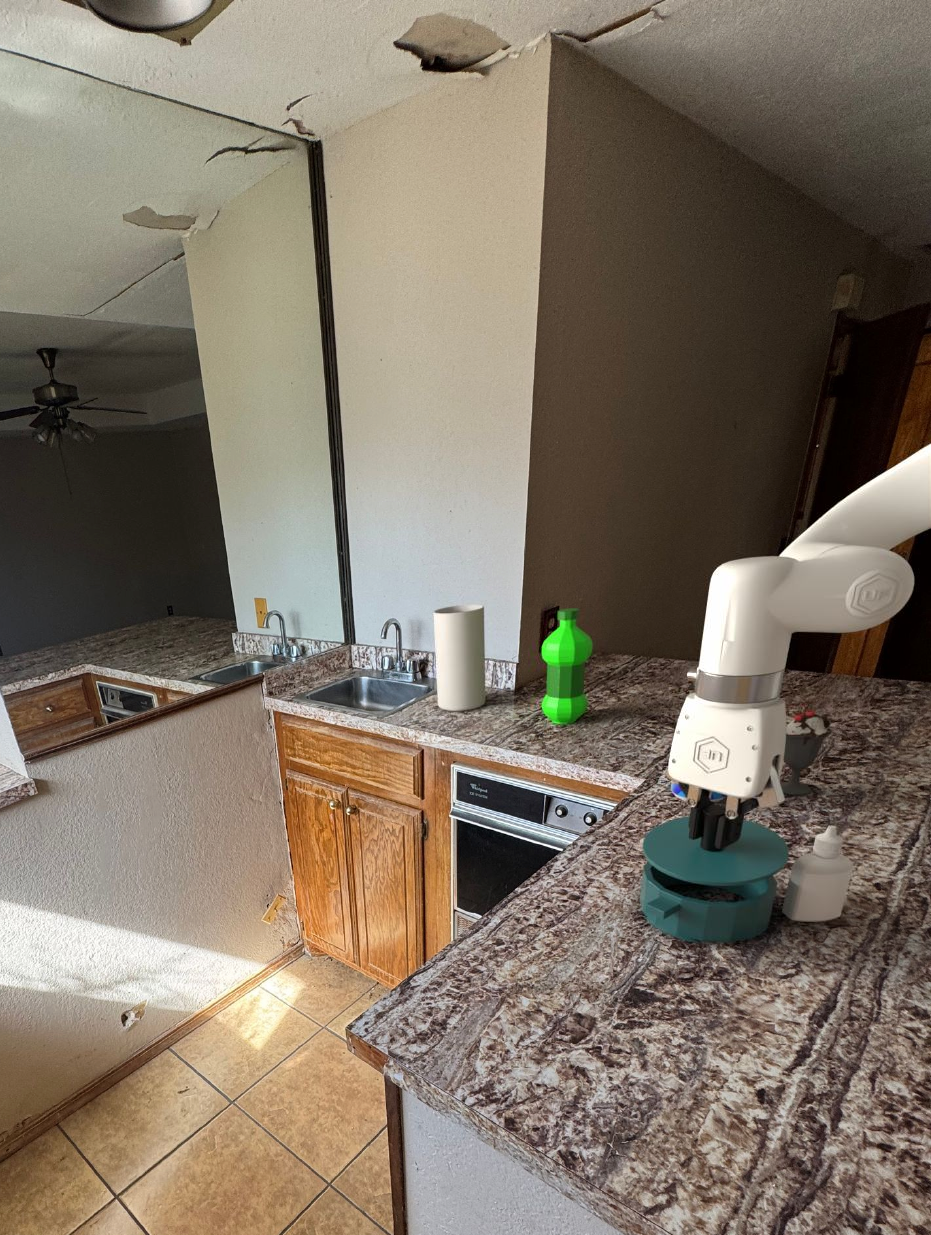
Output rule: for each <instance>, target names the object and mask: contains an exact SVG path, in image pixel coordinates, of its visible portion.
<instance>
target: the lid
mask: <svg viewBox="0 0 931 1235" xmlns="http://www.w3.org/2000/svg"><path fill="white" fill-rule="evenodd" d="M725 812H726V806H724V805H721V804H714V805H708V806H706V807H704V808H703V817H702V831H701V837H700V838H698V839H695V840H692V839H690V838H689V831H690V828H689V827H688V824H689V818H690V816H684V817H678V818H675V819H671V820H668V821H664V822H662V823H660V824H658V825H656V826H655V827H653V828H652V829H651V830H649V832H648V833H647V834H646V835H645V836H644V837H643V841H642V853H643V856H644V857H645V859H646V861H649V863H650V864H651V865H653V866H654V867H655V868H656V869H658V870H660V871H661V872H663V873H665V874H667V875H669V876H672V877H674V878H677V879H680V880H684V881H687V882H692V883H697V884H696V885H700V884H703V885H702V886H707V885H714V886H734V885H744V884H749V883H754V882H758V881H762V880H764V879H767V878H769V877H771V876H775V875H777V874H778V873H779V872H782V870H783V869H784V868H785V867H786V865H787V863H788V860H789V856H790V850H789V846H788V844H787V843H786V841H785V840H784V839H783V838H782V837H781V836H780V835H779V834H778V833H776V832H775V831H774V830H772V829H770V828H768V827H766V826H764V825H762V824H759V823H757V822H753V821H750V820H747V819H744V820H743V825H742V831H741V836H740V838H739V840H738V841H736V842H735V843H733V844H731V845H729V846H727V847H725V848H723V849H719V848H716V846H715V840H716V834H717V828H718V822H719V818H720V817H721V816H723V815H725Z"/></svg>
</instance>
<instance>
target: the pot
mask: <svg viewBox="0 0 931 1235" xmlns="http://www.w3.org/2000/svg"><path fill="white" fill-rule="evenodd" d="M778 884H779V883H778V881H777V880H776V878H775V875H773V876H771V877H769V878H767V879H764V880H762V881H758V882H754V883H749V884H744V885H734V886H714V885H706V886H707V887H713V888H718V889H722V890H725V891H727V892H729V893H733V894H735V895H738V896H740V897H742V898H744V899H745V900H739V901H733V902H732V901H731V902H729V901H728V902H727V901H708V900H702V899H698V898H693V897H688V896H684V895H682V894H679V893H677V892H675V891H672V890H670V889H668V888H666V887H672V886H678V885H698V884H697V883H692V882H687V881H684V880H680V879H677V878H674V877H672V876H669V875H667V874H665V873H663V872H661V871H660V870H658V869H656V868H655V867H654V866H653V865H651V864H650V863H649V861H648V860H646V863H645V864H644V866H643V868H642V877H641V884H640V885H641V886H640V895H639V904H640V908H641V911H642V913H643V915H645V916H644V919H645V920H646V921H647V922H648V923H649V924H650V925H651V926H653V927H654V928H656V929H657V930H659V931H661V932H662V933H665V934H666V935H669V936H671V937H674V938H677V939H679V940H682V941H685V942H689V943H693V944H699V945H702V942H710V943H711V942H712V943H713V942H715V943H735V942H736V943H737V942H741V941H746V940H752V939H754V938H755V937H758V936H759V935H761V934H762V933H764V932H766V931H767V930H768V927H769V923H770V920H771V916H772V911H773V906H774V903H775V898H776V892H777V888H778ZM701 885H702V886H704V885H703V884H699V886H701ZM699 941H700V942H699Z"/></svg>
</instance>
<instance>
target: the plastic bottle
mask: <svg viewBox="0 0 931 1235" xmlns="http://www.w3.org/2000/svg"><path fill="white" fill-rule="evenodd" d="M579 616H580V609H579V608H578V607H576V608H573V607H571V608H570V607H569V608H563V609H559V610H557V620H558V621H559V627H558V628H556V629H555V630H554V631H553V632H552V633H551V634H550V635H549V636H548V637H547V638H546V639H545V640H543V643H542V646H541V656H542V660H544V662H546V664H547V668H546V694H545V696H544V697H543V700H542V702H541V709H542V712H543V714H544V715H545V716H546V717H547V718H548V719H549V720H551V722H552V723H553V724H558V725H568V724H573V723H575V722H576V721H577V720H578V719H579V718H581V717H582V716H583V714H585V712H586V711H587V709H588V704H589V702H588V699H587V696H586V694H585V675H586V674H585V672H586V661H587V660H588V659H590V657H591V656H592V652H593V647H594V646H593V644H594V643H593V640H592V638H591V637H590V636H589V635H588V634H587V633H586V632H585V631H583V630H582V629H581V628H579V627H578V626H577V623H576V622H577V619H579Z"/></svg>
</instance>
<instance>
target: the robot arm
mask: <svg viewBox="0 0 931 1235" xmlns="http://www.w3.org/2000/svg"><path fill="white" fill-rule="evenodd" d="M929 529H931V443H929V444H927V445H926V446H924V447H923V448H921V449H919V450H917V451H915V453H913V454H912V455H910V456H908V457H907V458H906V459H903V460H902V461H900V462H899V463H897V464H896V465H894V466H893V467H891V468H889V469H887V470H886V471H884V472H883V473H881V474H879V475H877V476H876V477H874V478H873V479H871V480H870V481H868V482H866V483H865V484H863V485H862V486H860V487H859V488H857V489H856V490H855V491H853V492H851V493H850V494H849V495H847V496H846V497H845V498H843V499H842V500H840V501H839V502H837V503H836V504H835V505H834V506H833V507H831V508H830V509H829V510H828V511H827V512H825V513H823V515H822V516H821V517H819V518H818V519H817V520H816V521H815V522H814V523H812V525H810V526H809V527H808V528H807V529H805V531H804V532H802V533H801V534H800V535H799V536H798V537H797V538H795V539H794V541H791V543H790V544H789V545H788V546H787V547H786V548H785V549H784V550H783V551H782V552H781V553H780V554H779V555H778V556H776V555H770V556H769V555H768V556H754V557H746V558H740V559H734V560H729V561H727V562H724V563H722V564H721V565H719V566H717V568H716V569H715V570H714V571H713V573H712V575H711V578H710V582H709V589H708V596H707V604H706V610H705V618H704V625H703V631H702V632H703V633H702V639H701V647H700V656H699V663H698V666H697V667H696V668H690V669H689V670H688V672H687V674H686V679H687V680H688V681H691V682H693V683H694V692H692V693H689V694H688V695H687V696H686V697H685V700H684V703H683V705H682V708H681V710H680V713H679V717H678V719H677V723H676V726H675V729H674V734H673V739H672V742H671V748H670V753H669V759H668V767H667V768H668V769H667V770H666V771H665V777H666V778H668V779H669V780H670V781H671V782H672V781H673V782H674V783H675V784H676V785H679V787H680V789H681V791H682V792H683V793H684V795H685V796H686V798H687V801H686V805H687V806H688V807H689V808H690V811H689V817H690V818H689V824H688V827H689V828H690V831H689V838H690V839H692V840H695V839H698V838H700V837H701V831H702V817H703V808H704V807H706V806H708V805H715V802H712V801H710V799H711V796H712V791H713V792H717V793H721V794H724V795H727V796H726V804H725V807H726V812H725V815H723V816H721V817H720V818H719V822H718V828H717V834H716V840H715V846H716V848H719V849H723V848H725V847H727V846H729V845H731V844H733V843H735V842H736V841H738V840H739V838H740V836H741V831H742V825H743V820H745V814H747V813H749V812H751V811H753V810H756V809H764V808H773V807H777V806H779V805H781V804H783V803H785V799H786V798H785V795H784V793H783V791H782V788H781V785H780V783H781V781H780V779H781V775H782V770H783V765H784V752H785V743H786V726H787V709H786V708H787V707H786V700H785V699H784V698H780V695H781V690H782V686H783V679H784V674H785V669H786V664H787V658H788V653H789V649H790V643H791V639H792V634H794V633H798V632H799V633H833V634H834V633H835V634H836V633H837V634H844V633H845V634H846V633H855V632H860V631H861V632H862V631H864V630H865V631H866V630H869V629H871V628H874V627H877V626H879V625H882V624H883V623H885V622H886V621H888V620H890V619H892V618H893V617H894V616H895V615H897V613H899V612H900V611H901V610H902V609H903V608H904V607H905V605H906V604H907V603H908V601H909V600H910V598H911V596H912V594H913V591H914V586H915V575H914V572H913V569H912V566H911V565H910V564H909V562H908V561H907V560H906V559H905V558H904V557H902V555H900V554H898V553H896V552H894V551H891V549H893V548H895V547H896V546H898V545H900V544H902V543H903V542H905V541H907V540H909V539H911V538H913V537H914V536H917V535H919V534H921V533H923V532H925V531H928V530H929ZM761 793H762V794H761Z"/></svg>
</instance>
